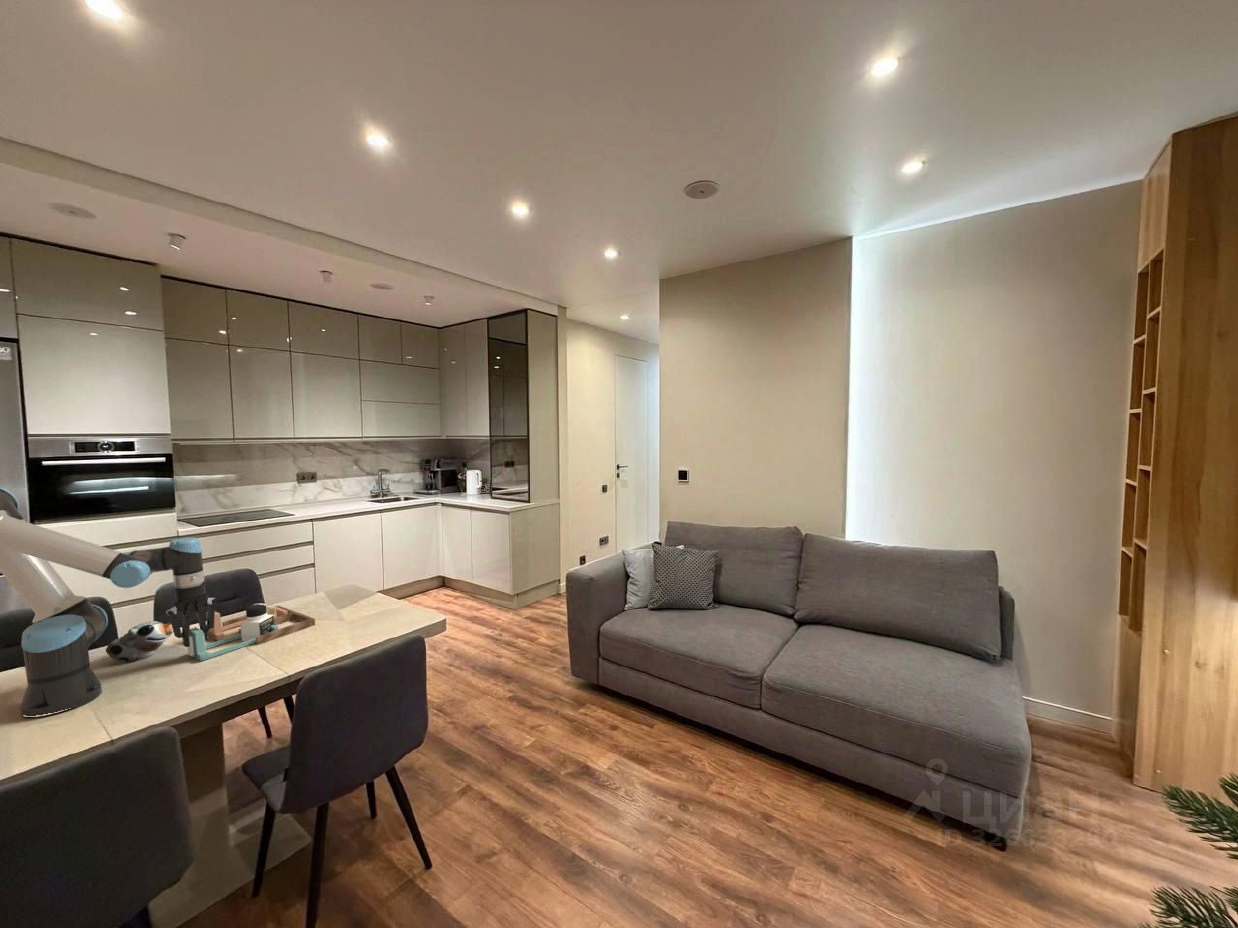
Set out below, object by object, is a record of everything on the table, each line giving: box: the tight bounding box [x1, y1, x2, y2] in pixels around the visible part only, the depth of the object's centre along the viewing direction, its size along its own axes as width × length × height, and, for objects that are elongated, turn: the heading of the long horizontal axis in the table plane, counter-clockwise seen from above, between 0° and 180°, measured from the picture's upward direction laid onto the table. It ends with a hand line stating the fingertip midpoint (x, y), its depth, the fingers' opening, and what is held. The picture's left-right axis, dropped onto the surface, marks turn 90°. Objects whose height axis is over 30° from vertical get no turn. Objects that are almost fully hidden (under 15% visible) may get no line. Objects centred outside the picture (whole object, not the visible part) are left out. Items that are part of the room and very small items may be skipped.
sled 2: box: [189, 625, 279, 662], centre depth 173 cm, size 23×10×9 cm, turn 149°
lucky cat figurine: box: [105, 620, 174, 663], centre depth 166 cm, size 15×12×14 cm
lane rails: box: [221, 605, 316, 645], centre depth 188 cm, size 19×28×2 cm
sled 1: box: [205, 606, 288, 641], centre depth 188 cm, size 23×10×9 cm, turn 149°
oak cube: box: [266, 605, 277, 618], centre depth 193 cm, size 5×5×5 cm
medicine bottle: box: [240, 603, 274, 642], centre depth 179 cm, size 7×7×12 cm
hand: (197, 652), depth 164 cm, fingers open, 2 cm apart
